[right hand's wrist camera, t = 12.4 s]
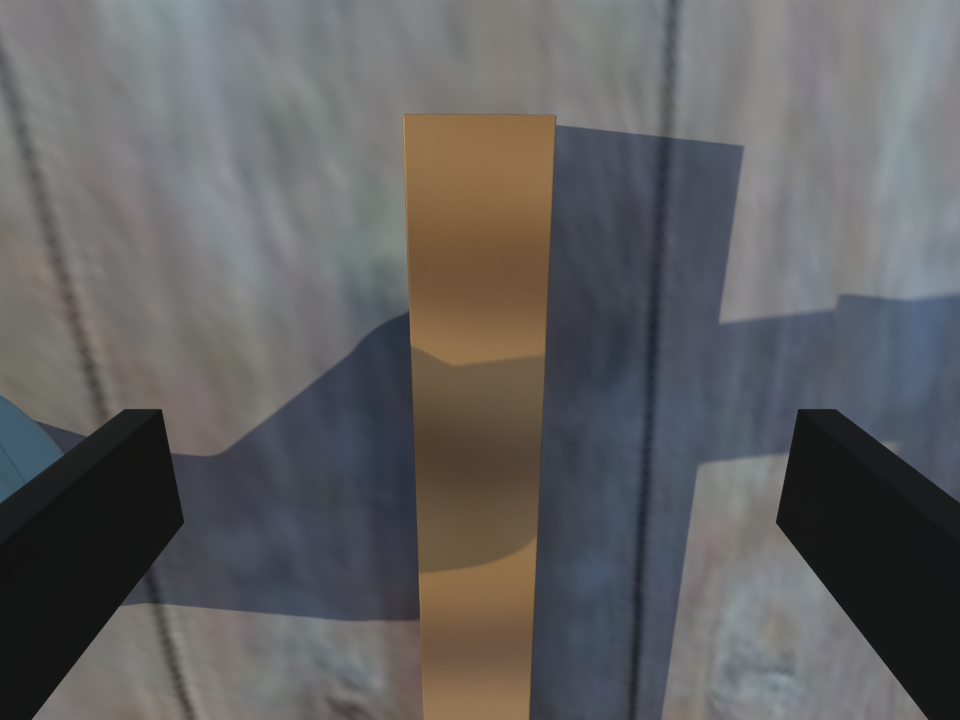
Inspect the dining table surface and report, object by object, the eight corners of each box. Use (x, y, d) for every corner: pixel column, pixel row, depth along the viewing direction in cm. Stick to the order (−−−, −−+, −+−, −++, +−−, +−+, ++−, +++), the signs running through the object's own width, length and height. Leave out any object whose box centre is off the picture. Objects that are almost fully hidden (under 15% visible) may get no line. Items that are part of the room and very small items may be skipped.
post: (422, 121, 30) (401, 113, 22) (536, 122, 30) (556, 114, 22) (439, 810, 47) (431, 944, 39) (512, 810, 47) (519, 944, 39)
